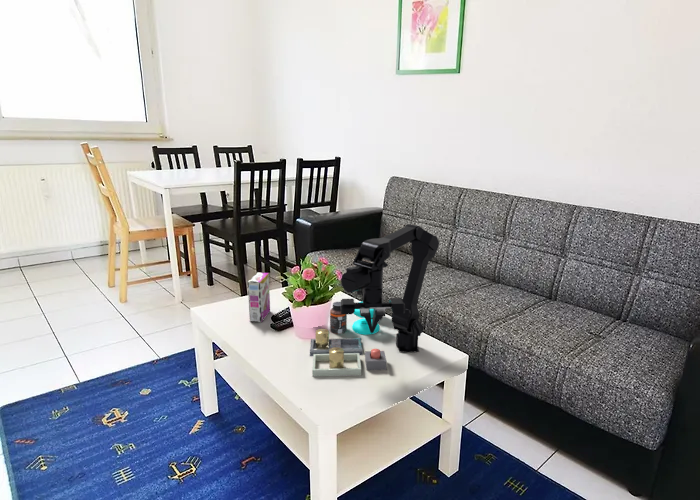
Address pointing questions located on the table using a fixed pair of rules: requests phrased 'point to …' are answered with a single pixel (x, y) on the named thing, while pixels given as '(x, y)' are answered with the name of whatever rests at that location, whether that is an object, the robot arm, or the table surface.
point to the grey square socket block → (375, 361)
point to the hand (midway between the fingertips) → (371, 332)
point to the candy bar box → (259, 297)
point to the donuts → (363, 324)
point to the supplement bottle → (337, 319)
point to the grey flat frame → (345, 343)
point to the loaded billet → (322, 339)
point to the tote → (337, 370)
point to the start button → (375, 354)
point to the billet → (336, 358)
